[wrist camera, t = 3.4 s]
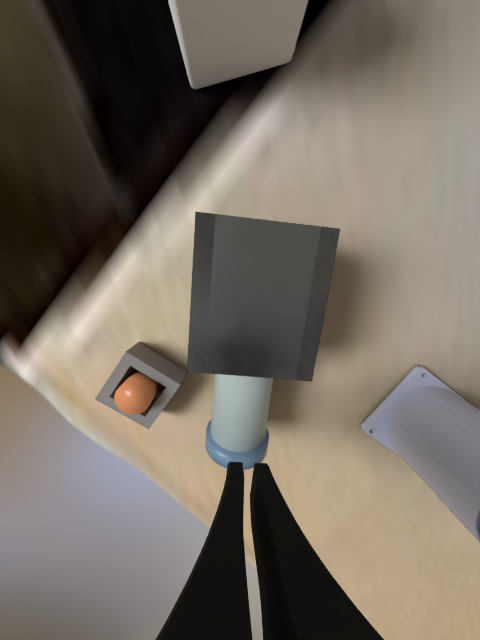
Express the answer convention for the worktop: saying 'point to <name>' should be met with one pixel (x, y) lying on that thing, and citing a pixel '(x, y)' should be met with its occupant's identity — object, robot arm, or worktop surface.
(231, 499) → the robot arm
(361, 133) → the worktop surface
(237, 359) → the block
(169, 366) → the block
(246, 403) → the cylinder
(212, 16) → the medicine bottle
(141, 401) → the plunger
